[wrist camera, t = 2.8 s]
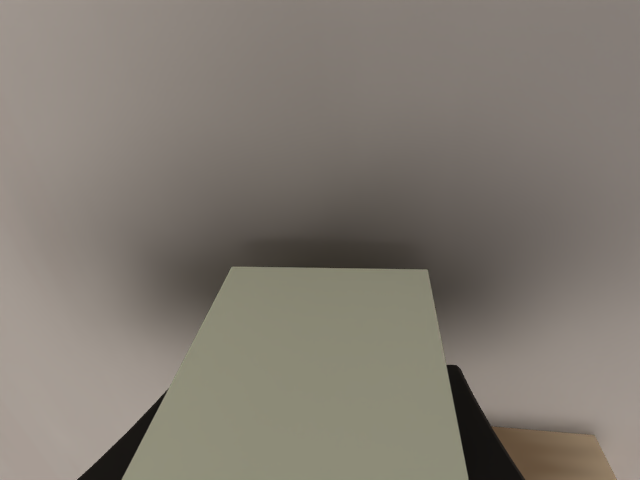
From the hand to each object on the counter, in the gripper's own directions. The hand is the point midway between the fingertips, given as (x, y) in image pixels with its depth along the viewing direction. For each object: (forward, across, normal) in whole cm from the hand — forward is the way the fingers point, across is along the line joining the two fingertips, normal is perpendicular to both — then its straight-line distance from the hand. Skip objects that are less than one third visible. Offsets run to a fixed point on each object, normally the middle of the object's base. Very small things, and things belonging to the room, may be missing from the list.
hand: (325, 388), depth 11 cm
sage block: (+2, 0, 0) cm, 2 cm away
